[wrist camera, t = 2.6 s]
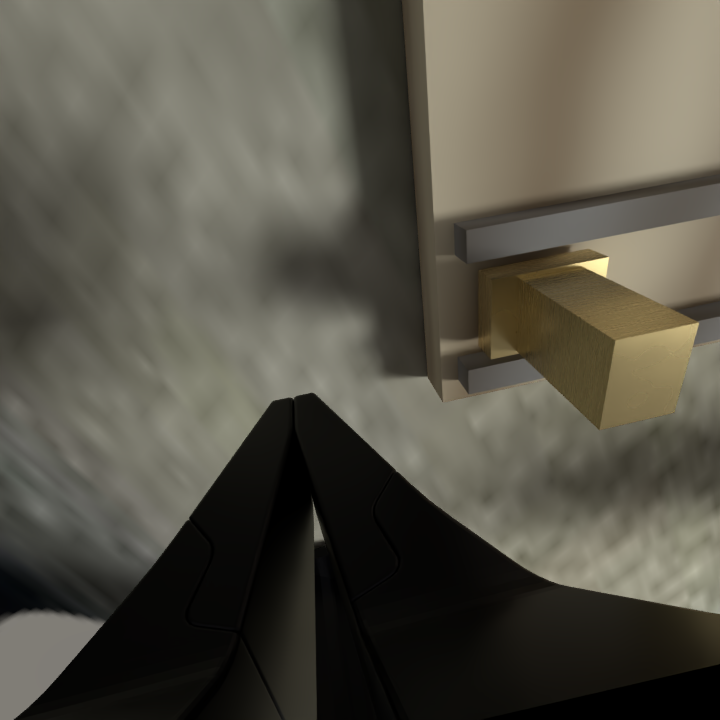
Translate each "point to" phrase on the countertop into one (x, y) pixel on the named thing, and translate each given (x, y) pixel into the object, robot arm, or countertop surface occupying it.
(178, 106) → the countertop surface
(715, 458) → the countertop surface
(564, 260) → the slider
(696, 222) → the panel
